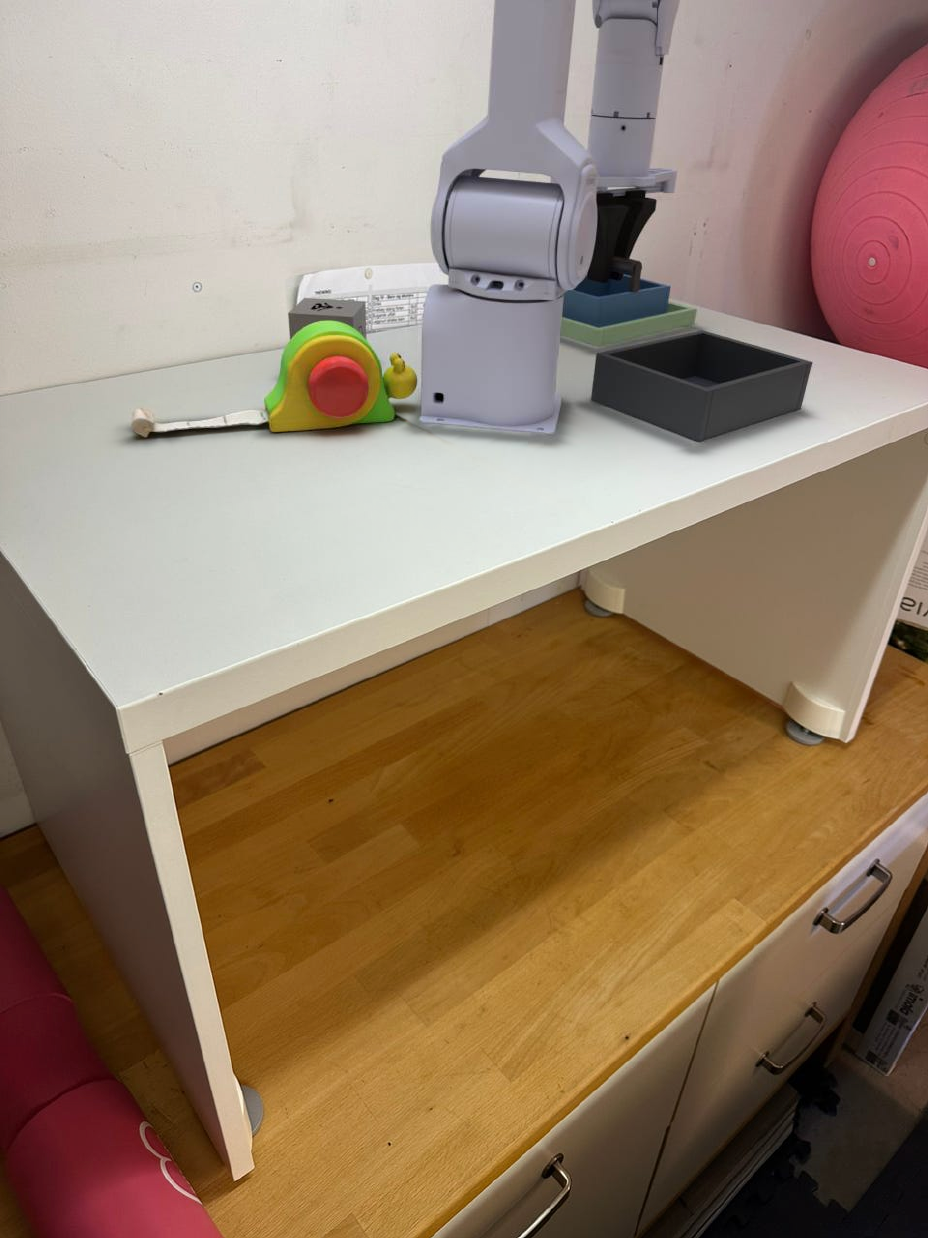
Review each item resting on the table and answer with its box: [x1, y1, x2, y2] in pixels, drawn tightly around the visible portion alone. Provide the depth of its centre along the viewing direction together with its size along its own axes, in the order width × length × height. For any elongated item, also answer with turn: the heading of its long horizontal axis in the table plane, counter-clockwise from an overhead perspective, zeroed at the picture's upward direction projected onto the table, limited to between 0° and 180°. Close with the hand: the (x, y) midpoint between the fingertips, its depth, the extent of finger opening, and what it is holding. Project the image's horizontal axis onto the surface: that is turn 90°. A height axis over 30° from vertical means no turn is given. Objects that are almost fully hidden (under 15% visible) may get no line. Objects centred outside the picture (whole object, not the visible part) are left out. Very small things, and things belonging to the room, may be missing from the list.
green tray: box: [560, 301, 698, 347], centre depth 87 cm, size 14×12×2 cm
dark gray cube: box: [287, 297, 367, 341], centre depth 71 cm, size 5×5×5 cm
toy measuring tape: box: [131, 321, 418, 438], centre depth 60 cm, size 6×20×7 cm, turn 107°
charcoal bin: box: [590, 329, 814, 443], centre depth 66 cm, size 12×10×4 cm
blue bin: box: [562, 255, 672, 328], centre depth 85 cm, size 10×8×6 cm
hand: (604, 279), depth 85 cm, fingers closed on blue bin
